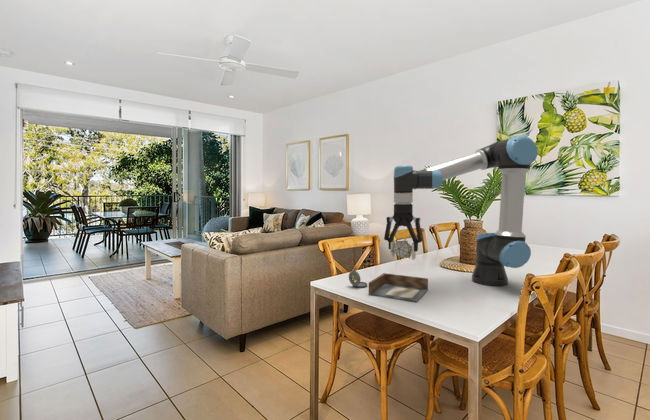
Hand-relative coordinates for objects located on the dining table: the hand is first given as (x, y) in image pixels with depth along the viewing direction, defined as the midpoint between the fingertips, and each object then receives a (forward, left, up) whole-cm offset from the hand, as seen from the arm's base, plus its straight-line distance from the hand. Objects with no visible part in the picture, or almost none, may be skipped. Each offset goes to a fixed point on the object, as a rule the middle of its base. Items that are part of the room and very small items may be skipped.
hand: (402, 258), depth 140 cm
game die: (0, 0, 0) cm, 1 cm away
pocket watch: (+21, -1, -15) cm, 26 cm away
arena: (+2, -1, -15) cm, 15 cm away
